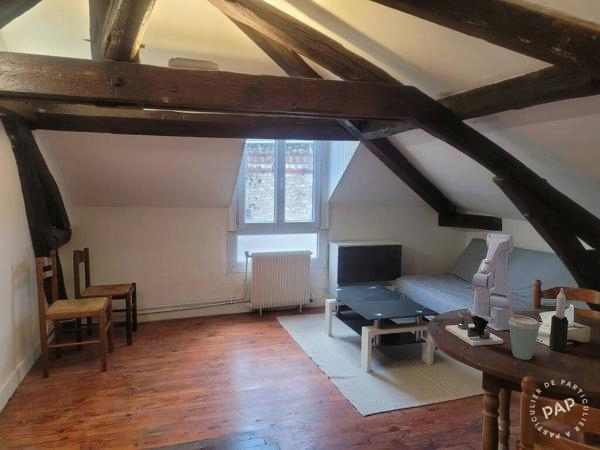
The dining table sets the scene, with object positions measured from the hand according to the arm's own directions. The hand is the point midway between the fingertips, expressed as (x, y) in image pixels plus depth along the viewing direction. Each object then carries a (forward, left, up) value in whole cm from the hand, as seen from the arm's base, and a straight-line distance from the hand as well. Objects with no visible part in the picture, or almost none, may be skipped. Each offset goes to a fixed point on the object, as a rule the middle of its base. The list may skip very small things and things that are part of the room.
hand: (479, 334), depth 170 cm
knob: (-3, -17, -2) cm, 18 cm away
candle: (-27, +11, -4) cm, 30 cm away
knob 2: (-1, -3, -2) cm, 4 cm away
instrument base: (-3, -9, -4) cm, 10 cm away
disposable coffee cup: (-8, +14, -4) cm, 17 cm away
